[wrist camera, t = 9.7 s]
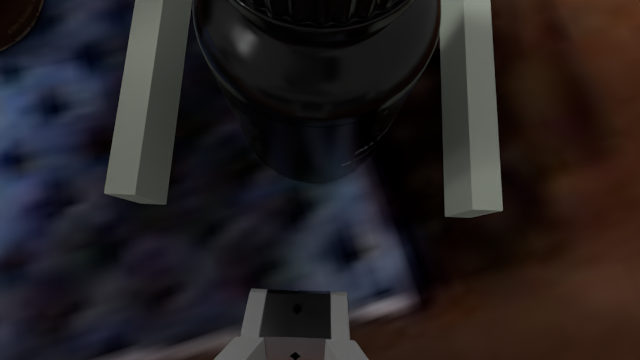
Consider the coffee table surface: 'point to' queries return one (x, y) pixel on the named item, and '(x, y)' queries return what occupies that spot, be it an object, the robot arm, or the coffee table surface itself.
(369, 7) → the supplement bottle
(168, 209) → the coffee table surface
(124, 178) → the pale u-shaped frame
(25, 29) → the coffee cup
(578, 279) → the coffee table surface
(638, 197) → the coffee table surface
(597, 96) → the coffee table surface
